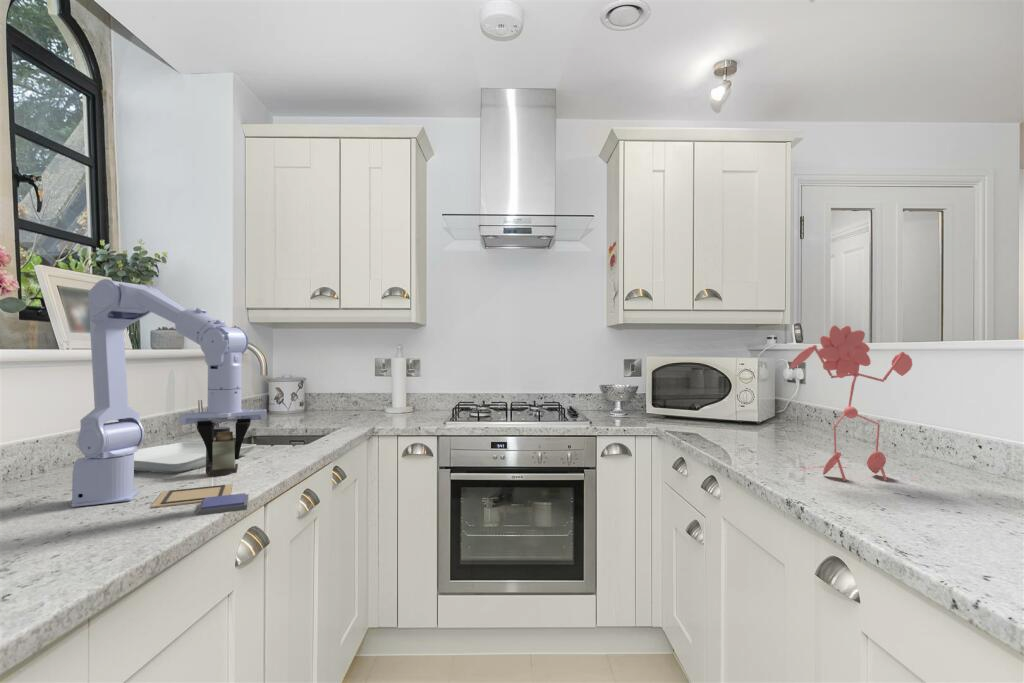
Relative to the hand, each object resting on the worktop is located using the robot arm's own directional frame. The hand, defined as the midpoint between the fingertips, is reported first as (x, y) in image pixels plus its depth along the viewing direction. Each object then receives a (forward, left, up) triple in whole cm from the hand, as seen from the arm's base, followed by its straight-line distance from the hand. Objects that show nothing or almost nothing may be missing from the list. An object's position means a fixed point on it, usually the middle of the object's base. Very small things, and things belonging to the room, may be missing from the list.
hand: (224, 459), depth 98 cm
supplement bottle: (-3, +31, -9) cm, 32 cm away
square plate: (-14, +51, -10) cm, 54 cm away
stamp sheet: (-6, +11, -9) cm, 15 cm away
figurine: (+130, -38, -9) cm, 136 cm away
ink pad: (0, 0, -9) cm, 9 cm away
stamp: (0, -1, -2) cm, 2 cm away
